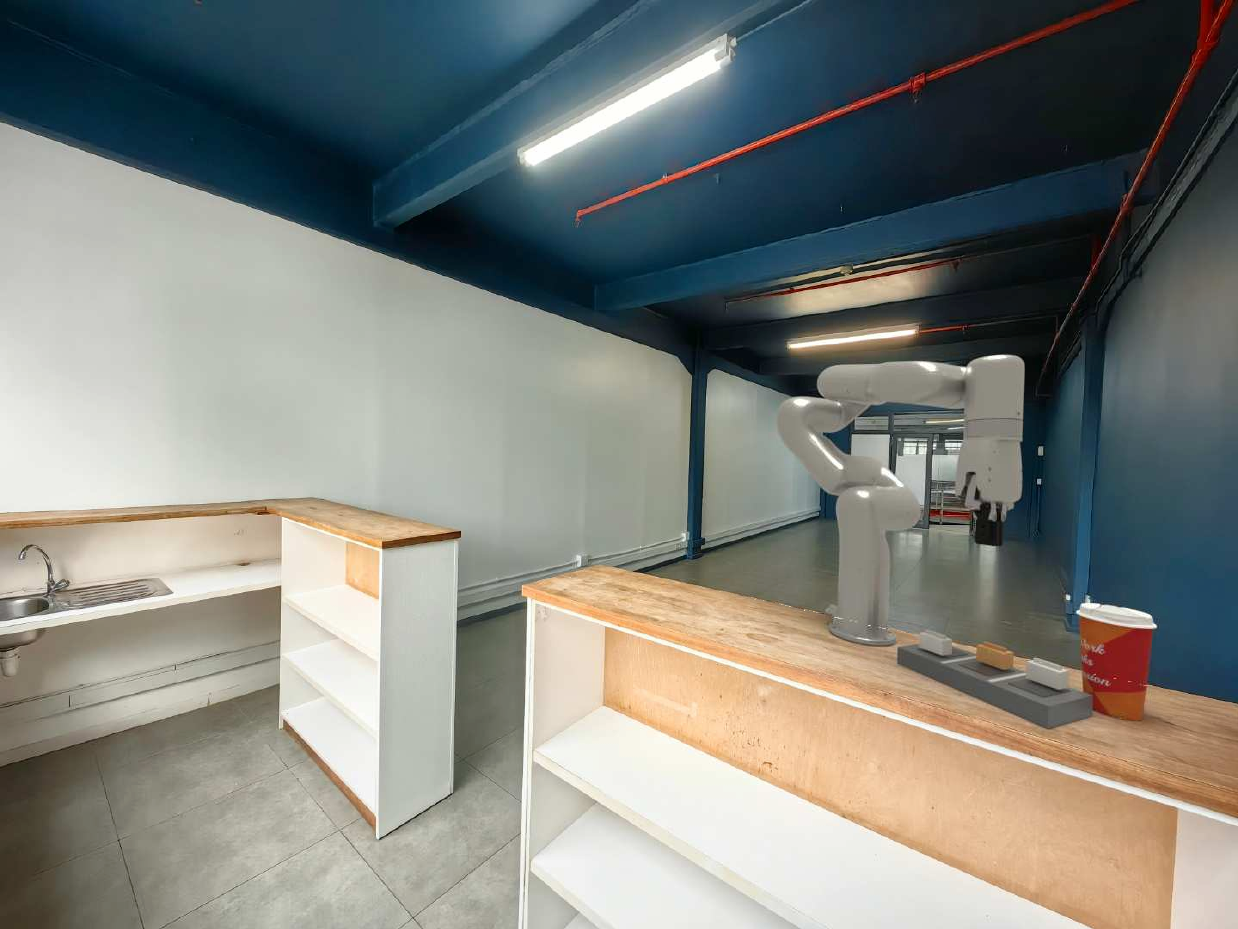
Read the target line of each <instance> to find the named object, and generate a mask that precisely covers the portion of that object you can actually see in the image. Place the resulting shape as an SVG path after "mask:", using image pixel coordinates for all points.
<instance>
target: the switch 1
mask: <svg viewBox="0 0 1238 929" xmlns="http://www.w3.org/2000/svg"><path fill="white" fill-rule="evenodd" d="M918 635H919V636H918V637H919V639H918V644H919V647H921V648H923V649H926V650H929V651H931V652H934V653H936V654H939V655H942V656H943V655H949V654H952V646H953V639H952V638H948V637H947V635H945V634H943V633H939V632H936V631H934V630H931V629H925V631H923V632H919V634H918Z"/></svg>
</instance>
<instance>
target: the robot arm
mask: <svg viewBox="0 0 1238 929" xmlns="http://www.w3.org/2000/svg"><path fill="white" fill-rule="evenodd" d="M816 389H817V390H818V392H819V394H820V396H822V397H823V398H821V397H814V396H812V397H811V396H794V397H789V398H788V399H785V400H784V401H783V402H782V403H781V404H780V405H779V407H778V409H777V413H776V428H777V431H778V435H779V438H780V439H781V441H782V442H783V444H784V446H786V448H787V449H788V450H789V451H790V452H791V453H792V454H793V455H794V456H795V457H796V458H797V459H798V460H799V462H800V463H801V464H802V465H803V467H804V468H805V469H806V471H807V472H808V473H809V474H810V475H811V477H812V478H813V479H814V481H815V482H816V483H817V484H818V485H819V486H820V488H821V489H822V490H823V491H824V492H826V493H827V494H829V495H833V496H837V500H836V504H835V514H836V515H835V516H836V519H837V526H838V533H839V534H838V536H839V553H838V555H839V556H838V558H839V560H838V581H837V583H838V588H837V605H835V604H830V605H828V607H827V608H825V610H824V612H825V614H827V615H830V616H832V621H830V622H829V624H828V630H829V632H830V633H831V634H833V635H835V636H836V637H837V638H838V637H839V638H841V639H843V640H847V641H849V642H850V641H851V642H853V643H858V644H863V645H870V646H890V645H894V644H896V643H897V635H896V634H895V632H893V631H892V632H891V630H890V629H889V609H890V608H889V607H890V606H889V604H890V603H889V601H890V580H891V579H890V571H891V552H890V547H889V543H888V541H887V538H886V536H885V534H884V532H895V531H896V532H897V531H898V532H899V531H906V530H909V529H912V528H913V527H915V525H916V524H917V523H918V521H919V520H920V518H921V511H922V510H921V505H920V501H919V500H918V498H917V496H916V495H915V494H914V492H913V491H912V490H911V489H910V488H909V487H908V486H907V485H906V484H905V483H904V482H902V480H901V479H900V478H899V477H898V476H896V474H894V472H892V471H891V469H890V468H889V467H887V466H886V465H885V464H883V463H882V462H881V461H880V460H878V459H875V458H873V457H868V456H861V455H852V454H847V453H845V452H843V451H842V450H841V449H840V448H838V446H836V445H835V443H833V441H832V440H831V439H829V438H828V437H827V436H826V435H824V434H822V433H826V434H827V433H829V434H830V433H831V434H832V433H835V432H839V431H841V430H843V429H844V428H846V427H847V426H848V425H850V424H851V423H852V422H853V421H854V420H855V419H856V418H857V417H859V416H860V415H861V414H863V413H864V412H865V411H866V410H867V409H868V408H869V407H870V406H880V405H883V404H886V403H896V404H897V403H899V404H910V405H916V406H917V405H919V406H928V407H936V408H940V409H941V408H942V409H952V410H960V409H964V411H963V412H964V413H963V417H964V418H963V440H962V441H961V444H960V447H959V451H958V456H957V465H956V472H955V484H954V495H955V498H957V499H958V500H962V501H964V506H965V508H967V509H969V510H971V511H972V512H973V519H974V520H975V522H974V523H975V524H974V525H975V529H974V542H975V544H978V545H981V546H991V547H1003V545H1004V523H1005V521H1006V518H1007V511H1010V510H1013V509H1014V508H1015V504H1014V503H1015V502H1017V501H1019V500H1020V499H1021V497H1022V491H1023V464H1022V463H1023V462H1022V450H1021V442H1023V430H1024V429H1023V428H1024V427H1023V425H1024V421H1023V420H1024V396H1025V395H1024V393H1025V362H1024V360H1023V359H1022V358H1021V357H1019V356H1017V355H1013V354H997V355H996V354H995V355H987V356H982V357H978V358H975V359H973V360H971V361H970V362H968V364H967V366H959V365H953V364H952V365H951V364H946V363H940V362H934V361H927V360H926V361H924V360H922V361H921V360H920V361H919V360H916V361H915V360H913V361H908V360H907V361H906V360H905V361H886V362H882V363H869V364H868V363H867V364H866V363H865V364H864V363H863V364H862V363H861V364H837V365H836V364H835V365H833V366H829V367H827V368H825V369H824V370H823V371H822V372H821V373H820V374H819V376H818V377H817V381H816ZM833 616H834V617H839V618H843V619H838V618H834V617H833ZM850 620H852V621H850ZM855 621H857V622H855ZM868 625H871V626H868ZM879 627H881V628H879ZM882 628H886V629H882ZM887 629H888V630H887ZM889 630H890V631H889Z"/></svg>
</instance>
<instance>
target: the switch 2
mask: <svg viewBox="0 0 1238 929" xmlns="http://www.w3.org/2000/svg"><path fill="white" fill-rule="evenodd" d="M975 651H976V653H975V654H976V660H978V661H980V662H983V663H986V664H989V665H991V666H994V667H997V668H1000V669H1002V670H1006V669H1011V668H1013V667H1014V655H1015V654H1014V652H1013V651H1010V650H1008V647H1007V648H1006V647H1004V646H1001V645H998V644H996V643H995V644H994V643H991V642H988V641H982V643H980V644H977V645H976V650H975ZM989 651H990V652H989Z"/></svg>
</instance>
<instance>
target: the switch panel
mask: <svg viewBox="0 0 1238 929" xmlns="http://www.w3.org/2000/svg"><path fill="white" fill-rule="evenodd" d="M896 656H897V657H896V664H898V665H900V666H902V667H904V668H907V669H908V670H911V671H913V672H914V673H915V672H916V673H918V674H920V675H922V676H925V677H928V678H930V679H932V680H934V681H936V682H938V683H940V684H941V683H942V684H944V685H946V686H949V687H950V688H952V687H953V689H955V688H956V689H955V690H957V691H959V690H960V691H959V692H962V693H963V694H966V693H967V694H966V695H969V696H971V697H974V698H975V699H978V700H980V701H983V702H984V703H985V702H986V703H988V704H989V705H992V706H995V707H997V708H998V709H1002V710H1004V711H1006V712H1008V713H1011V714H1013V715H1015V716H1017V717H1020V718H1021V719H1025V720H1026V721H1029V722H1032V723H1034V724H1036V725H1038V726H1041V727H1043V728H1045V729H1048V730H1050V729H1052V728H1053V729H1054V728H1056V727H1059V726H1062V725H1066V724H1070V723H1073V722H1077V721H1081V720H1084V719H1087V718H1092V717H1093V710H1092V708H1093V695H1090V694H1087V693H1085V692H1083V690H1080V689H1079V690H1078V689H1076V688H1072V687H1070V686H1069V687H1068V688H1065V689H1060V690H1058V689H1055V688H1052V687H1049V686H1047V685H1044V684H1041V683H1038V682H1036V681H1033V680H1030V679H1027V678H1026V671H1025V670H1022V669H1019V668H1016V667H1014V666H1013V668H1011V669H1006V670H1002V669H1000V668H997V667H994V666H991V665H989V664H986V663H983V662H980V661H978V660H976V653H974V652H971V651H968V650H966V649H962V648H959V647H957V646H954V645H952V654H949V655H943V656H942V655H939V654H936V653H934V652H931V651H929V650H926V649H923V648H921V647H919V643H917V644H916V643H915V644H914V643H913V644H909V645H901V646H900V645H899V646H897V655H896Z"/></svg>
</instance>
